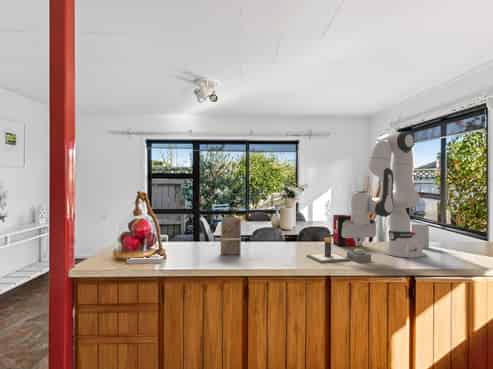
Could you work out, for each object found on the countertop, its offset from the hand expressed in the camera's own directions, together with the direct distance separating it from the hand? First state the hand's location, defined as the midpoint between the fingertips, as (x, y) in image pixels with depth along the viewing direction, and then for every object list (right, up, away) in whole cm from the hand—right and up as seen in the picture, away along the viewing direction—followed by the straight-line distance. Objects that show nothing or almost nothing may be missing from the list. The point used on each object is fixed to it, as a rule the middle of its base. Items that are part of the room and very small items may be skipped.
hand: (358, 245), depth 189 cm
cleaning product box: (+6, -7, +42) cm, 43 cm away
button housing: (0, -8, 0) cm, 8 cm away
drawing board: (-16, -8, +2) cm, 18 cm away
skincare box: (+52, -8, +36) cm, 63 cm away
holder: (-117, -8, +12) cm, 118 cm away
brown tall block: (-71, -8, +11) cm, 72 cm away
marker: (-16, -6, +2) cm, 18 cm away
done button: (0, -5, 0) cm, 5 cm away
